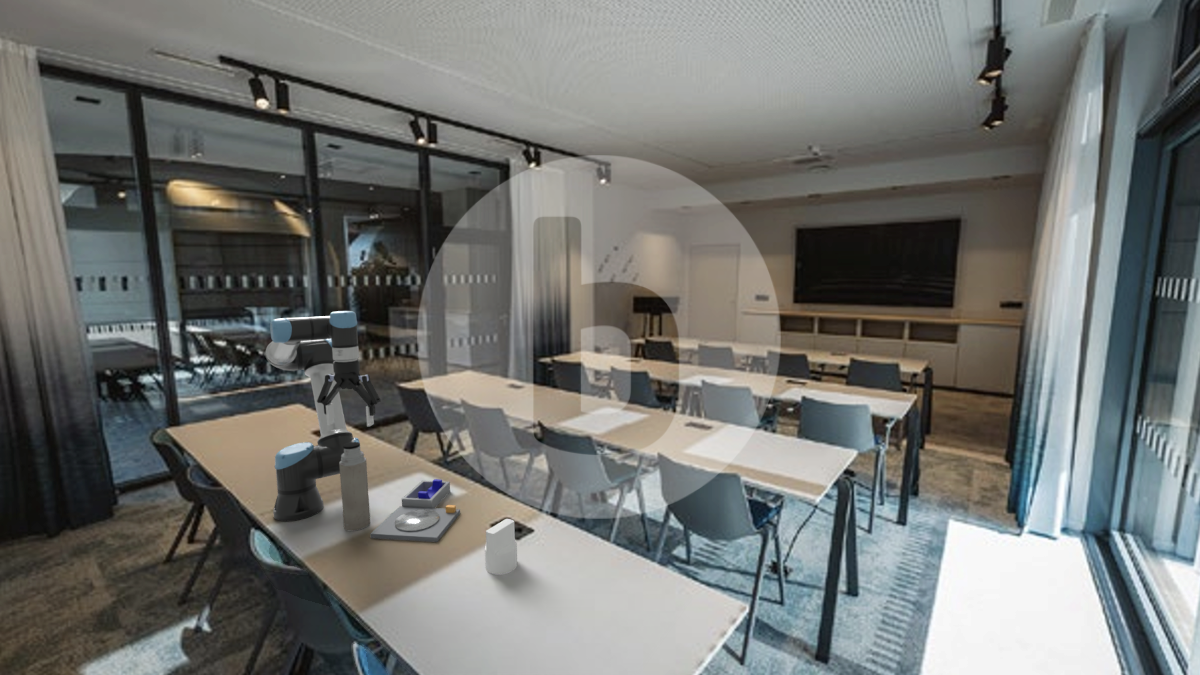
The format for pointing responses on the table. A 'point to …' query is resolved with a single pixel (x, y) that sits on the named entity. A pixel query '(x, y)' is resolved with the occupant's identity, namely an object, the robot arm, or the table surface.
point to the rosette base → (416, 523)
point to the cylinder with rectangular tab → (501, 548)
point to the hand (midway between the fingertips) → (350, 424)
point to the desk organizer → (414, 501)
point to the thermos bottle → (354, 488)
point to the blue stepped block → (430, 490)
